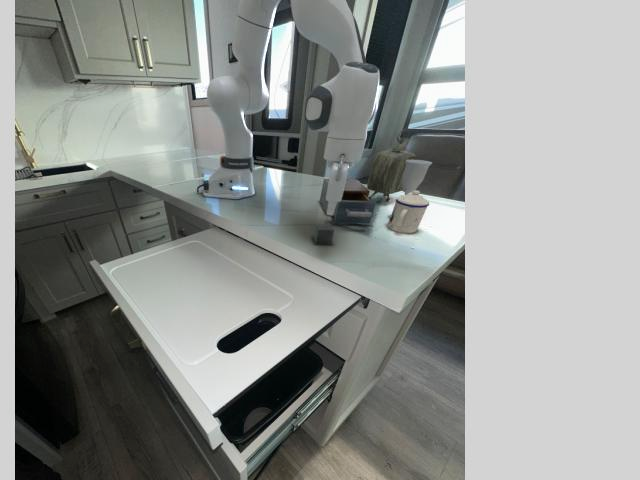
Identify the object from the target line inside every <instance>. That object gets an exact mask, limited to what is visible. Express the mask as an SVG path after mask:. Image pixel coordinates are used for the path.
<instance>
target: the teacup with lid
mask: <svg viewBox="0 0 640 480" xmlns="http://www.w3.org/2000/svg"><path fill="white" fill-rule="evenodd" d="M429 206H430V201H429V200H428V199H427V198H425V197H424V196H423V195H421V192H420V190H416V189H415V190H414V191H413V192H412V193H409V194H407V195H405V194H401V195H399V196H398V197H396V199H395V204H394V206H393V208H392V212H391V214H390V216H391V217H390V216H389V220H388V223H387V227H388V229H390V230H391V231H394V232H397V233H401V234H402V233H403V234H414V233H415V232H417V231H418V229H419V227H420V224H421V222H422V220H423V218H424V215H425V213H426V211H427V208H428V207H429Z"/></svg>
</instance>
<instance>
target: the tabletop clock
mask: <svg viewBox="0 0 640 480" xmlns="http://www.w3.org/2000/svg"><path fill="white" fill-rule="evenodd" d="M405 131H406V132H407V137H401V138H399V137H400V135H401V134H402V133H403V132H405ZM410 135H411V130H410V129H409V128H403V129H401V130H400V131H399V132H398V134H397V136H396V141H397V142H398V143H395V144H394V145H393V146H392V147H391V149H386V150H382V151H380V152H378V153H377V154H376V156H375V158H374V160H373V162H372V165H371V169H370V172H369V175H368V180H367V186H366V188H367V189H368V190H369V191H372V192H373V193H372V194H371V196H370V195H369V196H368V198H369V199H370V200H371V201H372V199H373V197H374V196H375V195H377V194H378V193H379V194H383V197H384V198H385V199H384V201H385V202H386V203H389V202H390V201H391V198H390V195H392V194H396V193H399V192H403V189H402V176H403V173H404V170H405V167H406V160H418V157H417V155H415V153H414V152H410V151H407V150H408V147H407V145H406V144H405V143H404V142H406V141H407V140H408V139H409V138H410Z"/></svg>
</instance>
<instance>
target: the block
mask: <svg viewBox="0 0 640 480" xmlns="http://www.w3.org/2000/svg"><path fill="white" fill-rule="evenodd" d="M334 233H335V229H334V227H333V225H332V224H330V223H329V224H328V223H327V224H326V223H316V224H315V227H314V232H313V237H312V238H313V241H314V244H315V245H325V246H327V245H328V246H329V245H330V246H332V242H333V238H334Z"/></svg>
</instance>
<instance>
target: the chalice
mask: <svg viewBox="0 0 640 480" xmlns="http://www.w3.org/2000/svg"><path fill="white" fill-rule="evenodd" d="M432 164H433V162H432V161H429V160H422V159H417V160H406V167H405V170H404V173H403V176H402V189H403V190H402V192H403V193H404V195H407V194H410V193H412V192H413V191H414V190H416V189H417V188H418V187H419V186H420V185H421V184H422V182H423V181H424V179H425V177H426V174H427V172H428V169H429V167H430V166H431V165H432ZM390 217H391V215H390V216H389V218H390Z"/></svg>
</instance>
